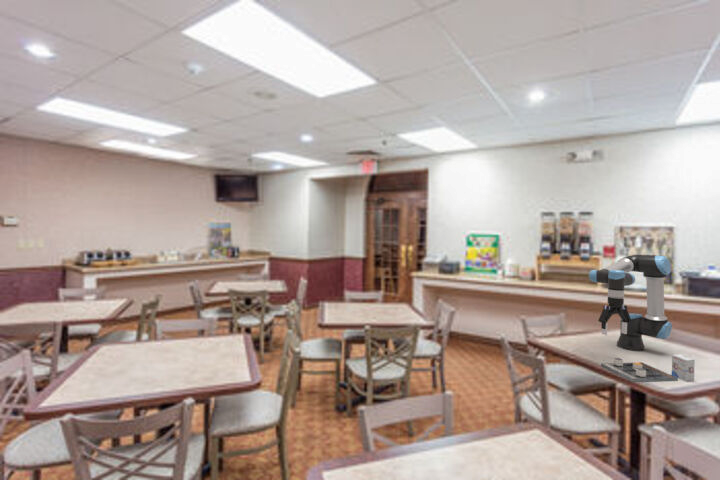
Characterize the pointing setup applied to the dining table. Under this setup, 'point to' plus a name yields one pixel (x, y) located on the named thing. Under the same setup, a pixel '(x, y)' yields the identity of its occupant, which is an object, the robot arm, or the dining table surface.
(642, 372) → the breaker
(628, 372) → the panel
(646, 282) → the robot arm
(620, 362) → the breaker
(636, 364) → the breaker mid
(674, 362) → the ink box
